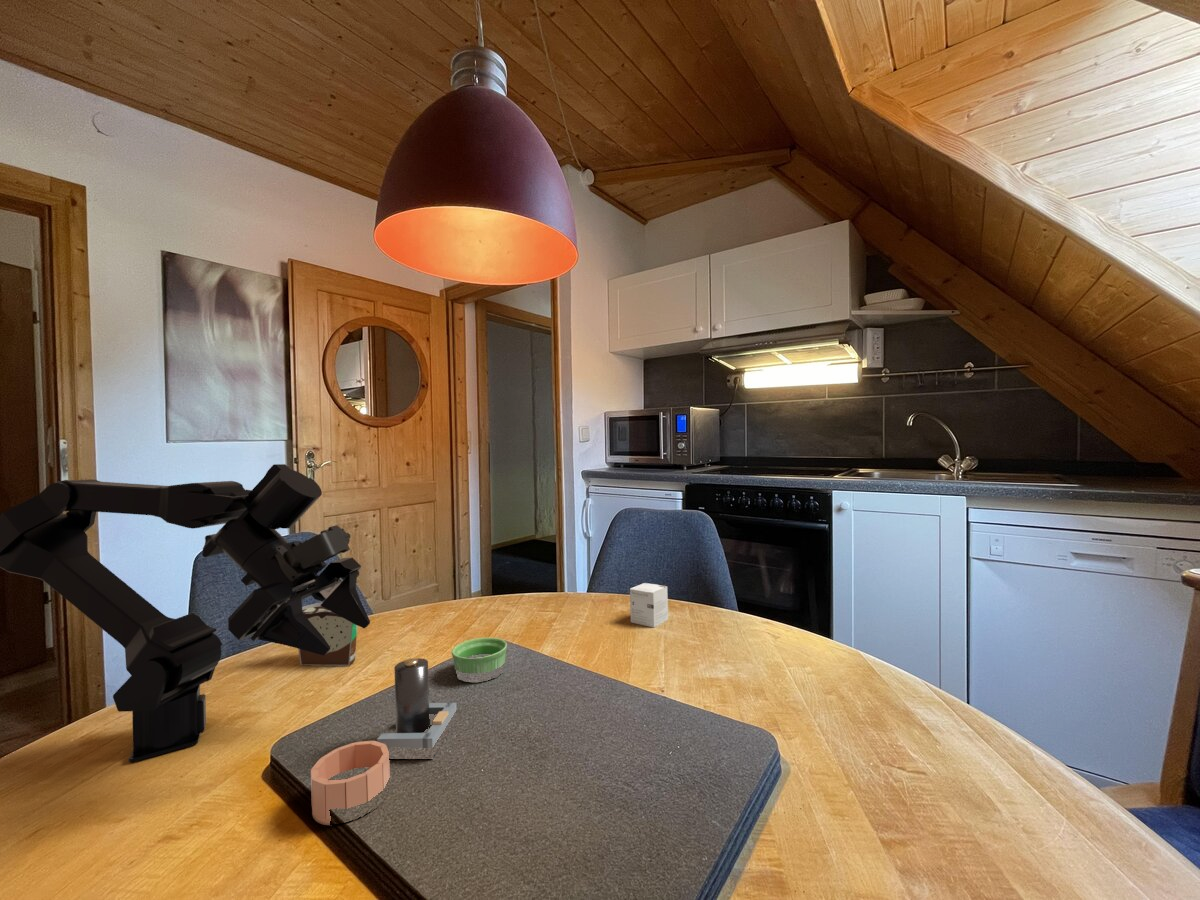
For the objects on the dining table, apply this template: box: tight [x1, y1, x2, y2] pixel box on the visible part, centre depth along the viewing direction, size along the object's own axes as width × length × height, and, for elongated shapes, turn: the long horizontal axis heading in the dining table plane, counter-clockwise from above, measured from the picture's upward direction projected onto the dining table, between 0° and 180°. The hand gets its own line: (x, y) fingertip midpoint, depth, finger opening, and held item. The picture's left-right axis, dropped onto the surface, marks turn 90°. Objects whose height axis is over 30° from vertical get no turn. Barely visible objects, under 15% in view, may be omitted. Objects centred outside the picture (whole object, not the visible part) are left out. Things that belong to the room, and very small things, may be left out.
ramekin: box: [451, 637, 508, 674], centre depth 81 cm, size 9×9×4 cm
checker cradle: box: [376, 702, 458, 748], centre depth 61 cm, size 7×8×3 cm
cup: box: [310, 740, 391, 826], centre depth 51 cm, size 7×7×4 cm
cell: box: [394, 657, 430, 733], centre depth 62 cm, size 4×4×10 cm
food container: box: [297, 601, 358, 667], centre depth 89 cm, size 12×6×10 cm, turn 84°
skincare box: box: [629, 582, 669, 628], centre depth 103 cm, size 6×6×7 cm
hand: (349, 637), depth 62 cm, fingers open, 9 cm apart
